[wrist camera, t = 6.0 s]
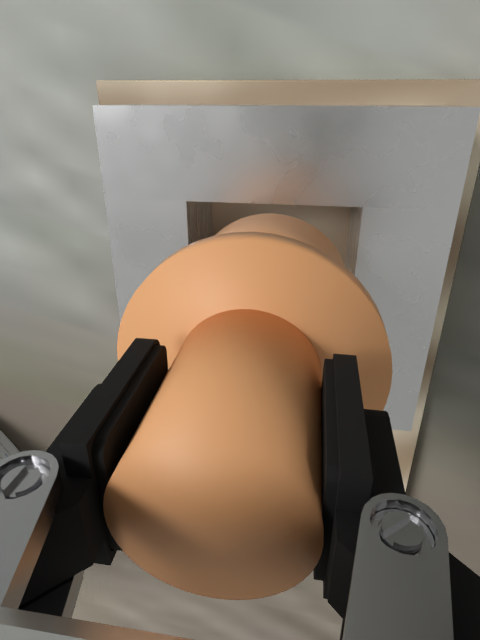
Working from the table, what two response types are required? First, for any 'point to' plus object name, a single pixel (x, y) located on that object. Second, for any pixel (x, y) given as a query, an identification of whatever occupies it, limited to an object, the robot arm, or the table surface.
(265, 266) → the end cover
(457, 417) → the table surface
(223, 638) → the table surface
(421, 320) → the plate
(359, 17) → the table surface
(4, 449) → the light bulb box
